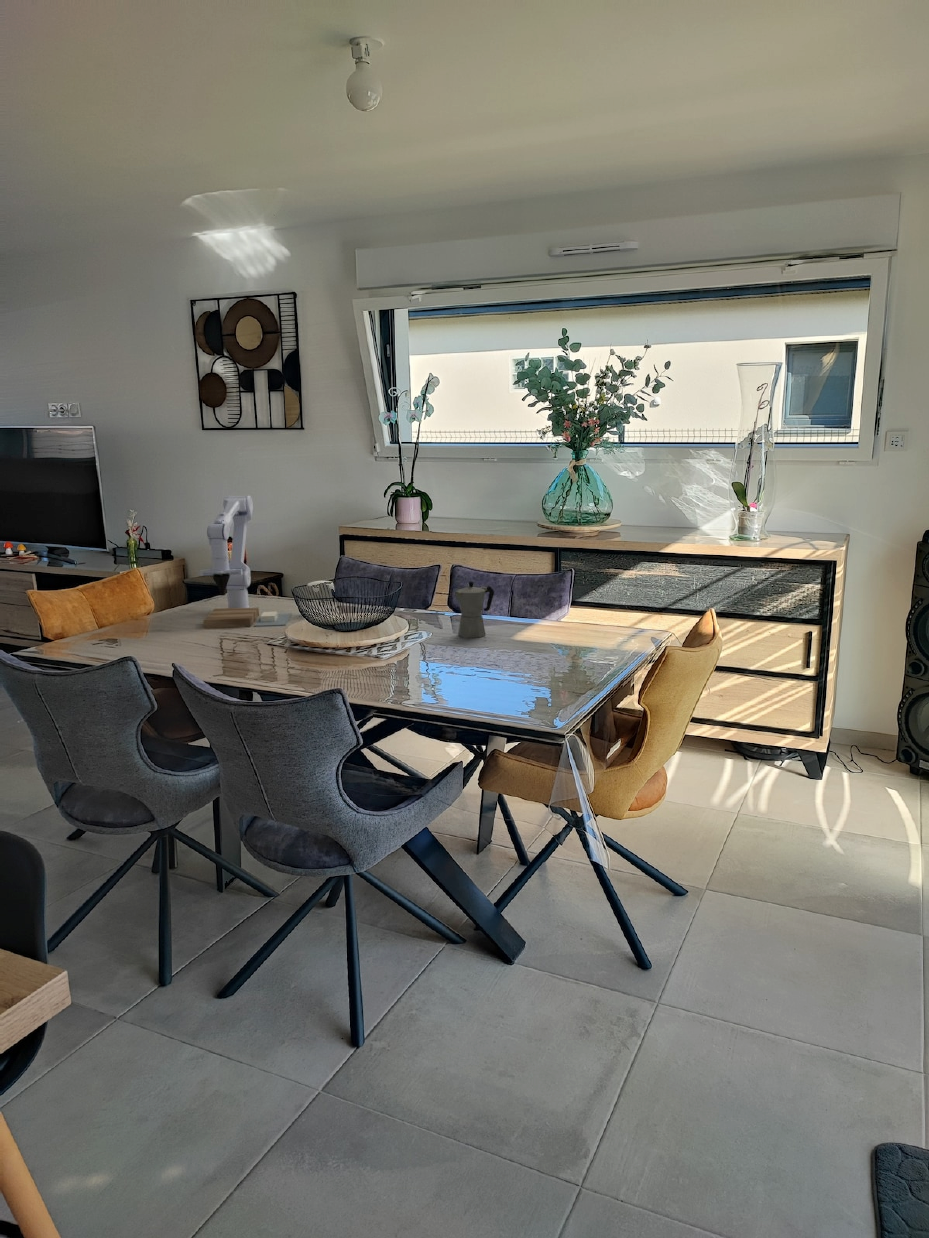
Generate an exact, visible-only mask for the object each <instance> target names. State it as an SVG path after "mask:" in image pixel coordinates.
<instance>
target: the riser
mask: <svg viewBox="0 0 929 1238" xmlns="http://www.w3.org/2000/svg"><path fill="white" fill-rule="evenodd" d="M259 609H260V608H259V607H256V606H255V607H254V606H253V607H251V608H222V607H221V608H220V607H219V608H213V610H211V612H210V613H208V615H206V617H205V618H204V619H203V629H217V628H219V629H220V628H223V629H224V628H243V627H242V626H251V627H252V626H253V625H254V624H255V623H256V622H255V621H257V620H258V618H259V617H260V611H259ZM257 617H258V618H257Z"/></svg>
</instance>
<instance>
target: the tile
mask: <svg viewBox="0 0 929 1238" xmlns="http://www.w3.org/2000/svg"><path fill="white" fill-rule="evenodd" d="M278 614H279V612H278V611H263V612H262V613H261V614H260V615H259V617H260V618H261V622H271V621H276V619H277V618H278Z"/></svg>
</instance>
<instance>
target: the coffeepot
mask: <svg viewBox="0 0 929 1238" xmlns="http://www.w3.org/2000/svg"><path fill="white" fill-rule="evenodd" d="M468 585H469V586H467V587H463V588H460V589H457V590H456V591H455V592H453V595H454V596H455V598H456V599H457V601H458V603H459V608H460V609H459V610H460V611H461V615H460V618H459V619H460V620H459V625H458V626H459V627H458V636H459V637H460V638H465V639H477V638H482V637H484V636H486V630H485V629H486V628H485V623H484V618H483V613H482V611H484V612H488V611H490V609H491V605H492V602H493V598H494V595H495V590H494V589H493V588H492V587H491V586H490V585H487V586H481V587H475V586H474V581H472V580H471V581H468ZM486 593H489V594H488V596H487V597H488V598H487V602H486V607H484V604H485V603H484V601H485V596H486Z"/></svg>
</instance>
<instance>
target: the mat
mask: <svg viewBox="0 0 929 1238" xmlns="http://www.w3.org/2000/svg"><path fill="white" fill-rule="evenodd" d="M292 614H293V613H292V612H291V613H287V612H286V613H284V612H283V613H278V618H277V619H276V621H271V622H261V618H260V616H258V618H257V619H256V620H255V621H256V622H254V623H253V627H254V626H257V627H283V626H284V627H285V626H286V625H287V624H288V622H289V620H290V619H291V616H292ZM286 623H287V624H286Z"/></svg>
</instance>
